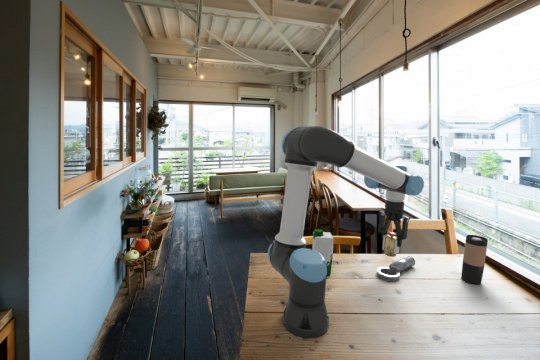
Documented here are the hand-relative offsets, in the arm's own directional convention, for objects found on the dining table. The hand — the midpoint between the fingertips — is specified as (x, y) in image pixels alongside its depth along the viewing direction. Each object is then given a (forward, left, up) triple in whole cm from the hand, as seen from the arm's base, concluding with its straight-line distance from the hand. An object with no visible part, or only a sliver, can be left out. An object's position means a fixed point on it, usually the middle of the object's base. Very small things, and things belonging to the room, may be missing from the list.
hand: (390, 250), depth 123 cm
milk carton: (-23, +19, -12) cm, 32 cm away
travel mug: (+27, -23, -12) cm, 37 cm away
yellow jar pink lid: (0, 0, -2) cm, 2 cm away
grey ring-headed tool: (+7, 0, -12) cm, 14 cm away
